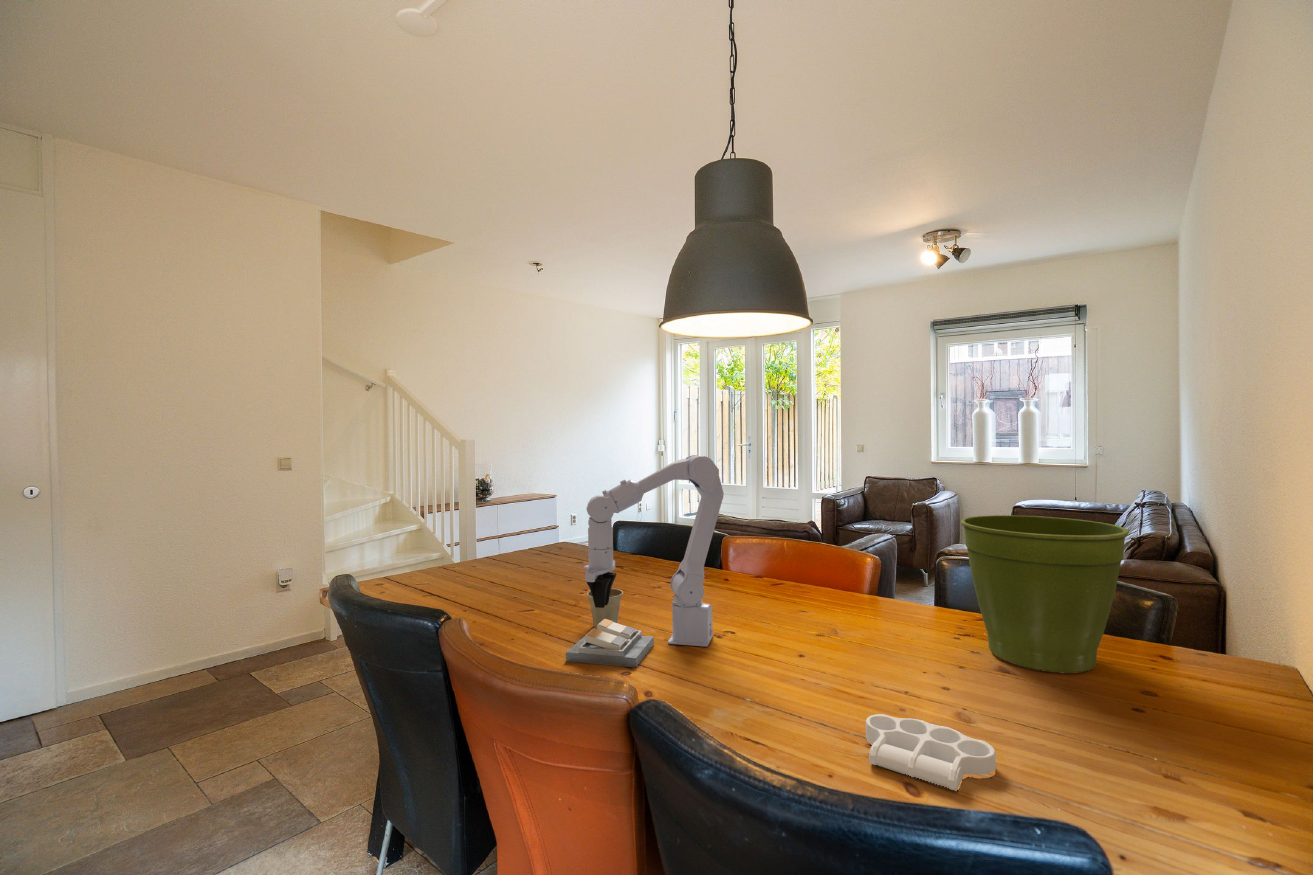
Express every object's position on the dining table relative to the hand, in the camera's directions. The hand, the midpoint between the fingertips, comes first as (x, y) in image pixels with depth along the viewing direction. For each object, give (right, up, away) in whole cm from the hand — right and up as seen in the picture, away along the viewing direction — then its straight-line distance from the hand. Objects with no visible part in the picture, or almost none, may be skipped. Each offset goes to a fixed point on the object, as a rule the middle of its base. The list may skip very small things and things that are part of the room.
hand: (601, 606), depth 138 cm
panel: (+3, -9, -4) cm, 11 cm away
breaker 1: (+2, -5, -8) cm, 10 cm away
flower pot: (0, -10, +15) cm, 18 cm away
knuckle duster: (+53, -9, -50) cm, 73 cm away
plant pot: (+95, -8, -12) cm, 96 cm away
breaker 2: (+3, -5, -1) cm, 6 cm away
